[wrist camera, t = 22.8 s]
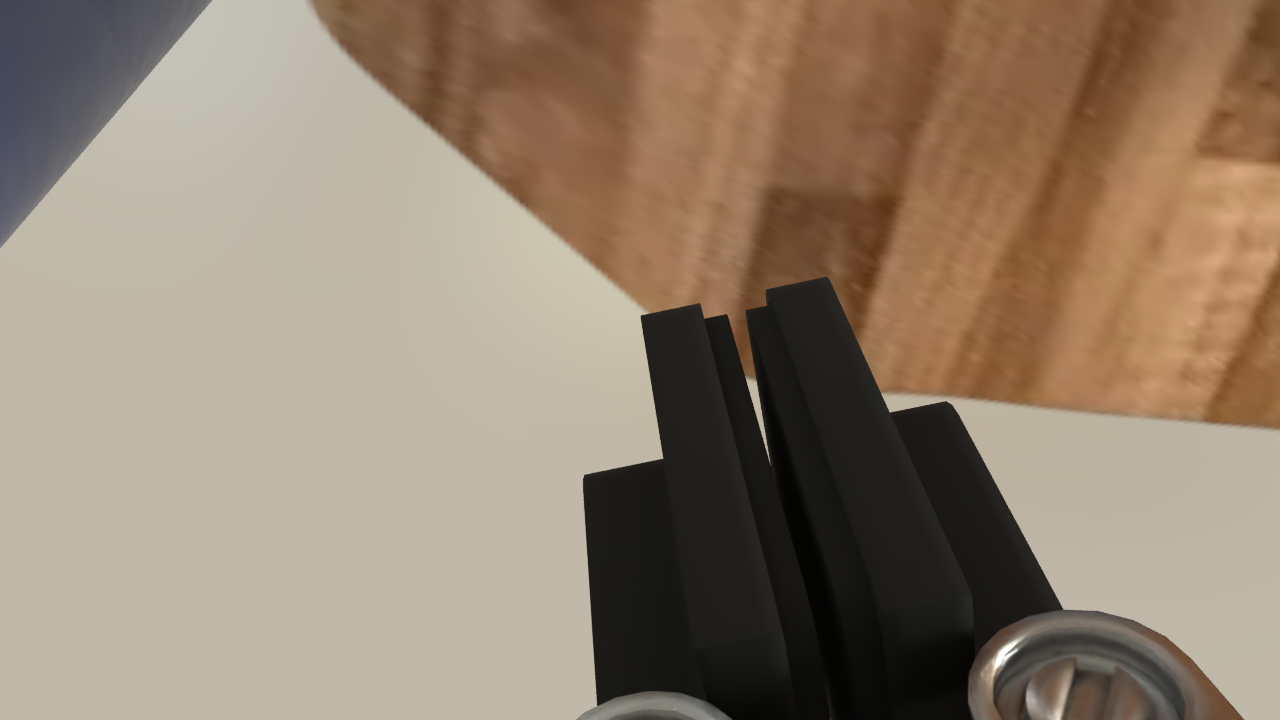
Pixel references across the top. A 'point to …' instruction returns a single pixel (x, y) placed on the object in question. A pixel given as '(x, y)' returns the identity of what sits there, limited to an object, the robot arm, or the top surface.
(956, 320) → the top surface
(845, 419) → the robot arm
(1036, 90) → the top surface
